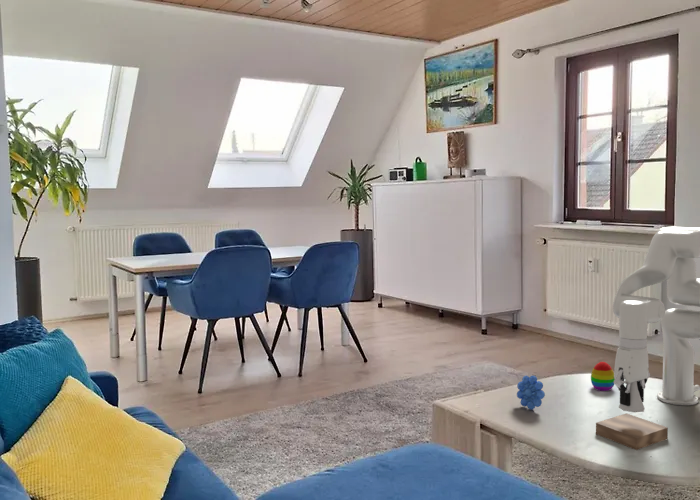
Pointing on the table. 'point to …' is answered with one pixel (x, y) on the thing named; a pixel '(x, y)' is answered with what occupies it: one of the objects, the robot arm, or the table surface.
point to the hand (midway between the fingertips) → (631, 402)
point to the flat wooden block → (631, 431)
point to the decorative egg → (602, 377)
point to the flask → (633, 400)
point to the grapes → (530, 392)
